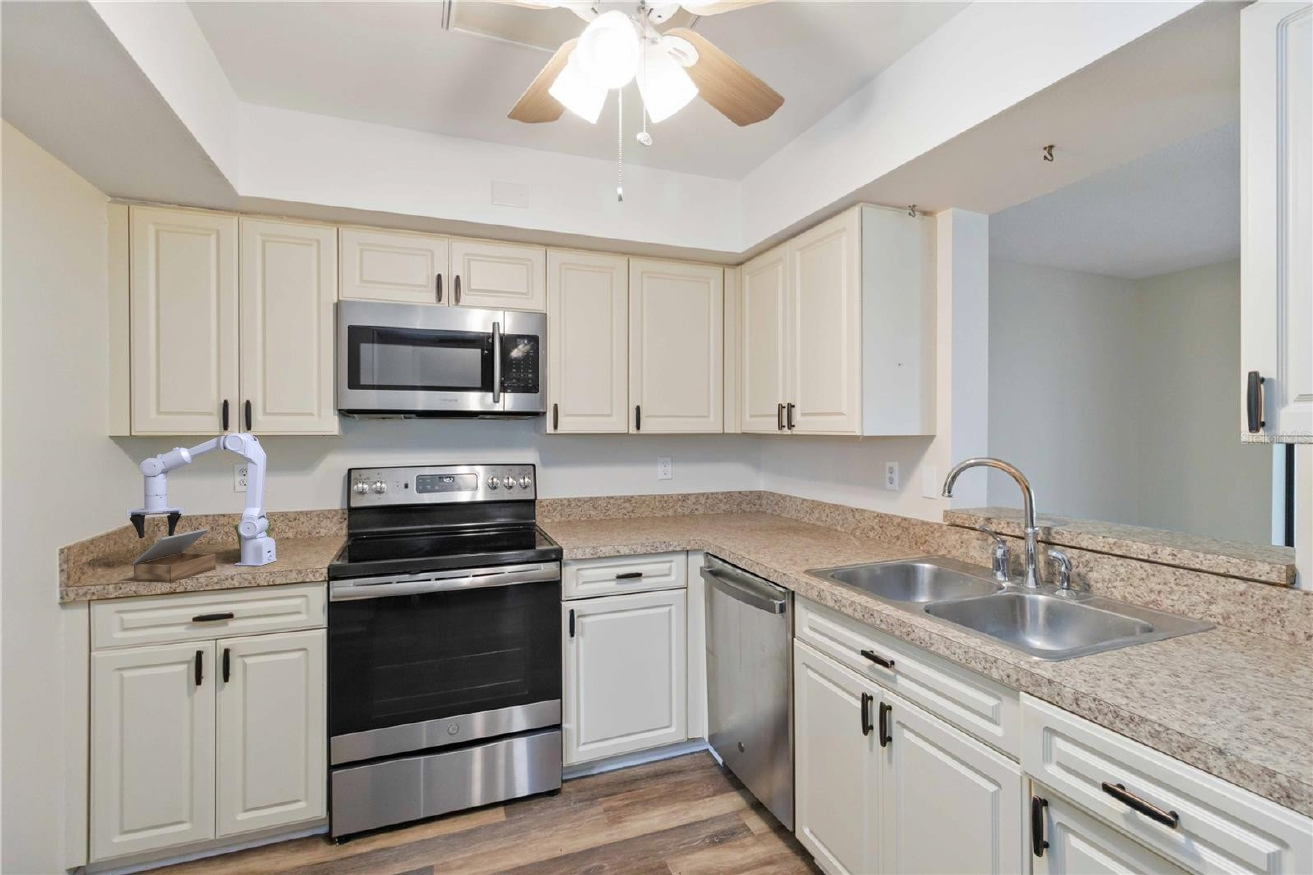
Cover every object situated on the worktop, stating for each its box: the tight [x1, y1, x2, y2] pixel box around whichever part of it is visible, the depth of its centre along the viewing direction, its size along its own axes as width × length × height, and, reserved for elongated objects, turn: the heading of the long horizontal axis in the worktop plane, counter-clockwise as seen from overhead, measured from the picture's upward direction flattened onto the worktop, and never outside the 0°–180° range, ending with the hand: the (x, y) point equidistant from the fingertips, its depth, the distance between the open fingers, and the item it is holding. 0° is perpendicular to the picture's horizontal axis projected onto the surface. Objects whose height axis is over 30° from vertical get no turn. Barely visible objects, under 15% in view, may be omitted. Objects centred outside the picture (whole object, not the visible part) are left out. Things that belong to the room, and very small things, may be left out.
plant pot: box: [232, 521, 273, 554], centre depth 215 cm, size 12×12×11 cm
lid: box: [132, 528, 210, 565], centre depth 186 cm, size 12×16×1 cm
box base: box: [133, 552, 217, 583], centre depth 186 cm, size 12×16×5 cm
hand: (156, 537), depth 194 cm, fingers open, 7 cm apart
